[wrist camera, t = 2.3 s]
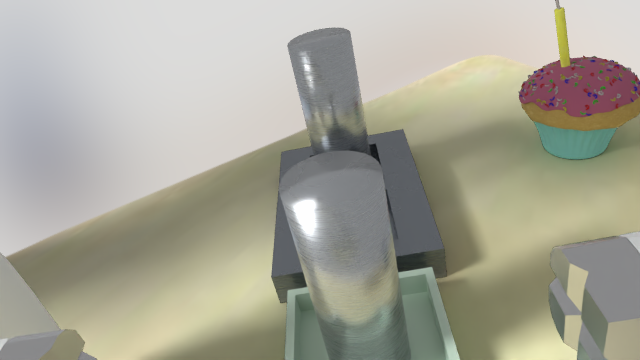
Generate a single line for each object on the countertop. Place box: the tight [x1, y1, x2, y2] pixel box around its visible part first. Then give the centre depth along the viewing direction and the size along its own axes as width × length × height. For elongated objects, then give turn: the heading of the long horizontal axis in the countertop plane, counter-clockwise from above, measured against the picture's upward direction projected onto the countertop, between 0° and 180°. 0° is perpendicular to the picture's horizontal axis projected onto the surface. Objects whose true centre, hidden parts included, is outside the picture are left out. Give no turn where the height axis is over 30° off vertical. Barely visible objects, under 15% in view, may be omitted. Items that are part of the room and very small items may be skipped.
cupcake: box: [519, 0, 640, 159], centre depth 39 cm, size 9×8×12 cm
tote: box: [285, 267, 460, 360], centre depth 28 cm, size 9×9×2 cm
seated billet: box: [288, 28, 371, 156], centre depth 39 cm, size 4×4×12 cm
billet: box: [279, 151, 411, 360], centre depth 25 cm, size 4×4×12 cm
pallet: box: [271, 129, 447, 303], centre depth 39 cm, size 11×16×2 cm
